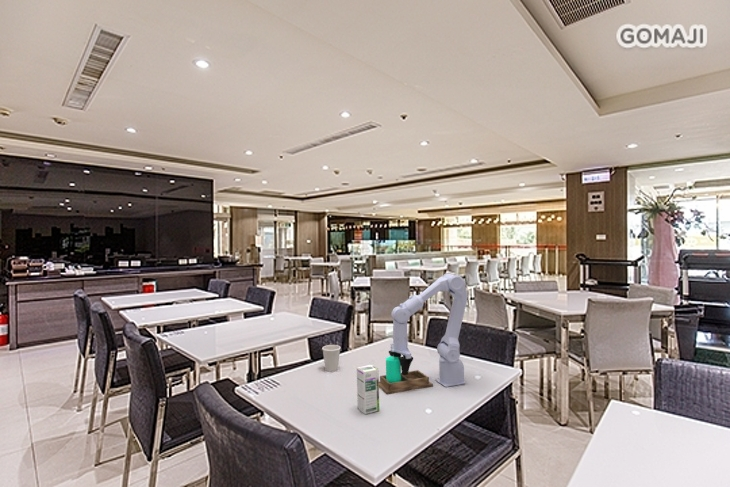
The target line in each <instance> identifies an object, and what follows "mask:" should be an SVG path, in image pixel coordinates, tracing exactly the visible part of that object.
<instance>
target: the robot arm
mask: <svg viewBox="0 0 730 487" xmlns="http://www.w3.org/2000/svg"><path fill="white" fill-rule="evenodd" d="M466 283H467V282H466V281H465V280H464V278H463V277H462V276H461V275H458V274H452V273H444V274H443V275H442V276H440V277H438V278H437V279H436V280H435V281H433V282H432V284H431V285H429V286H428V287H427V288H426V289H425V290H424V289H423V291H421V292H420V294H418V295H417V294H414V295H410V296H408V299H407V300H406V301H404V302H403V303H402V302H401V303H399V306H396V307H394V308H393V309H392V311H391V313H390V315H391V318H392V322H393V323H392V324H393V325H392V343H390V350H388V354H389V357H390V356H393V357H398V359H399V361H400V364H401V373H402V375H408V372H409V371H410V367H411V364H412V362H413V361H414V357H413V356H412V352H410V350H409V347H408V346H409V344H408V341H409V340H408V321H409V320H410V317H411V316H413V315H414V314H415V313H417V312H418V311H419V310H420V309H422V308H423V307H424V303H425V302H426V301H427V300H429V299H430V298H433V296H435V295H436V294H438V293H439V292H443V291H445V292H449V293H450V295H451V296H452V298H453V300H452V304H451V308H450V312H449V315H448V316H449V317H448V321H447V326H446V330H445V333H444V335H443V336H442V337H441V339H440V342H439V343H438V345H437V348H436V351H437V353H438V355H439V358H438V360H439V361H438V363H439V364H438V366H439V369H438V372H439V373H438V375H439V378H435V380H434V381H436V382H438V383H439V384H441V386H444V387H445V388H446V387H447V388H448V387H453V386H459V385H465V384H466V382H465V366H464V365H465V364H464V363H463V361H462V360H461V359H460V358H461V352H460V347H461V346H460V342H459V336H460V333H461V328H462V322H463V320H464V315H465V311H466V307H467V306H466V305H467V302H468V297H469V294H468V290H467V288H466V285H467V284H466Z"/></svg>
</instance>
